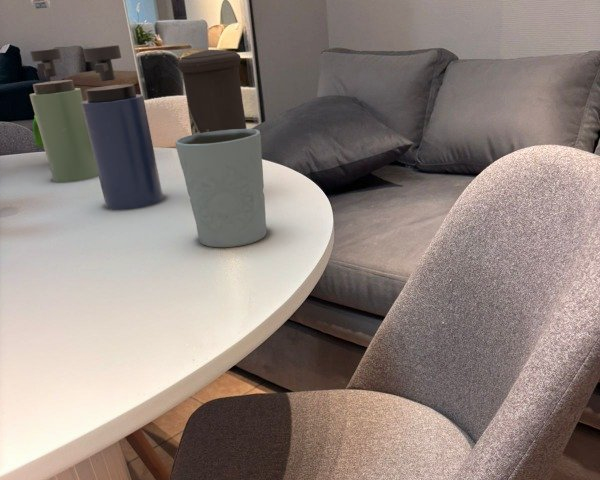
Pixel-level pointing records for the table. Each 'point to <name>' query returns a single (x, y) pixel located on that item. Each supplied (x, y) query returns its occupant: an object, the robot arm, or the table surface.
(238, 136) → the grey-green cup
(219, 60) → the container
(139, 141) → the navy lidded canister
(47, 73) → the sage flask pump
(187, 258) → the table surface
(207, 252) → the table surface
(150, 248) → the table surface
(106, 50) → the navy flask pump
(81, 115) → the sage flask
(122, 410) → the table surface
